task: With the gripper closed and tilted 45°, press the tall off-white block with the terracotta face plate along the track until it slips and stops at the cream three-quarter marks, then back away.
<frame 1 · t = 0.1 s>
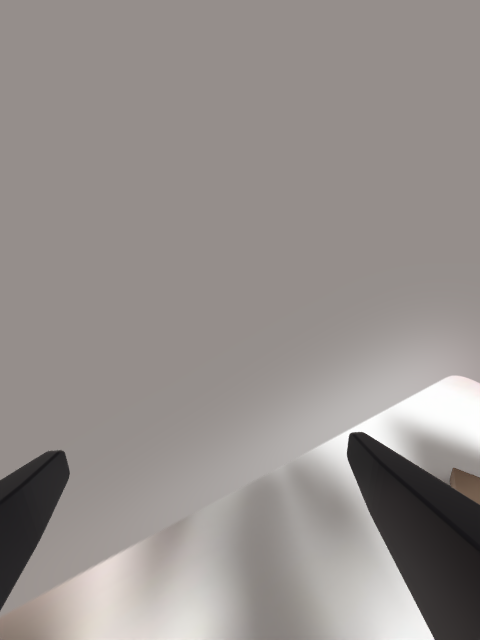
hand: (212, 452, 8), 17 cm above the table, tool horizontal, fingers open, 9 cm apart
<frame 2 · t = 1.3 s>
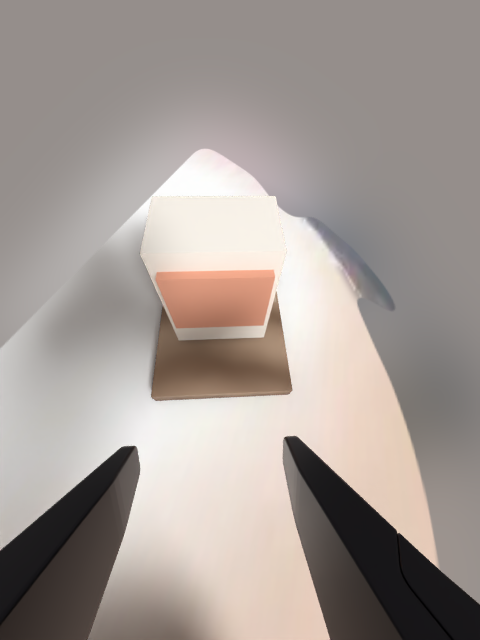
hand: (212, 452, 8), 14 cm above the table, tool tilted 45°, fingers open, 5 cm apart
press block: (218, 283, 19), point 7 cm above the table, slide at 0.0 cm
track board: (221, 320, 26), on the table
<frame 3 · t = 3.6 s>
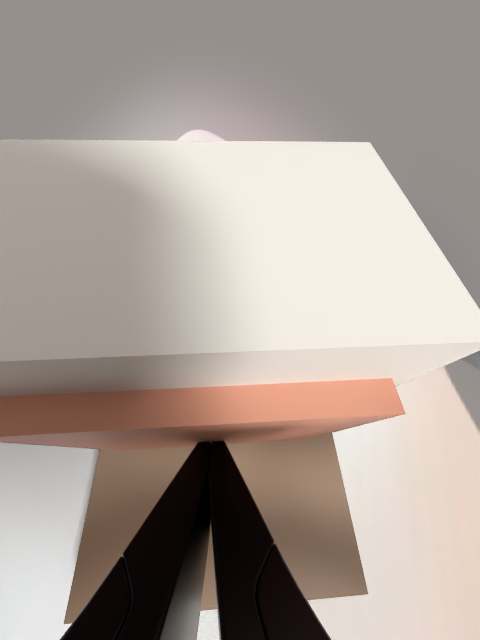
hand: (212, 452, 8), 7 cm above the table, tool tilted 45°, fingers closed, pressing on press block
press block: (211, 354, 9), point 7 cm above the table, slide at 1.2 cm, touching gripper
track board: (219, 404, 15), on the table
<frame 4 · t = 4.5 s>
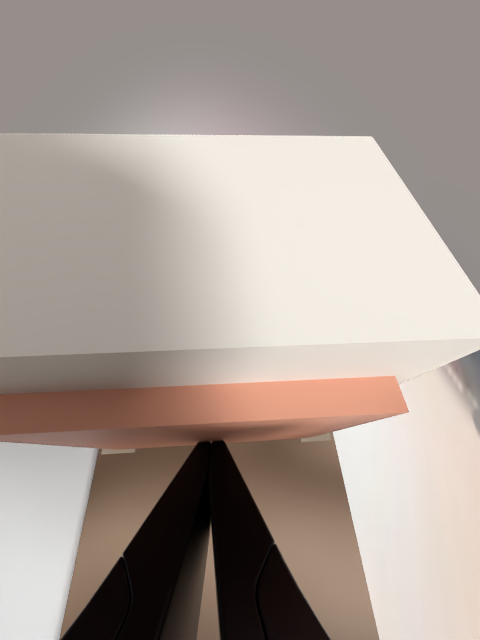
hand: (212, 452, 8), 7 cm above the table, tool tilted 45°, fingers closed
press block: (211, 352, 9), point 7 cm above the table, slide at 4.8 cm
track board: (220, 473, 13), on the table
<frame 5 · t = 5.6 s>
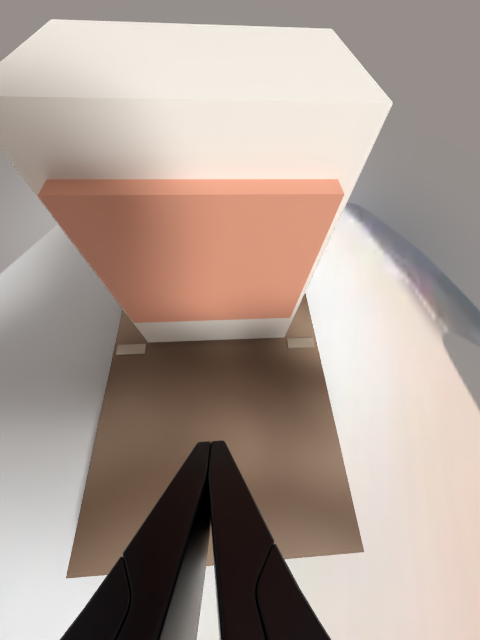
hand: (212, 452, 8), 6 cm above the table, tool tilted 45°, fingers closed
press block: (210, 241, 10), point 7 cm above the table, slide at 4.8 cm
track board: (219, 378, 15), on the table
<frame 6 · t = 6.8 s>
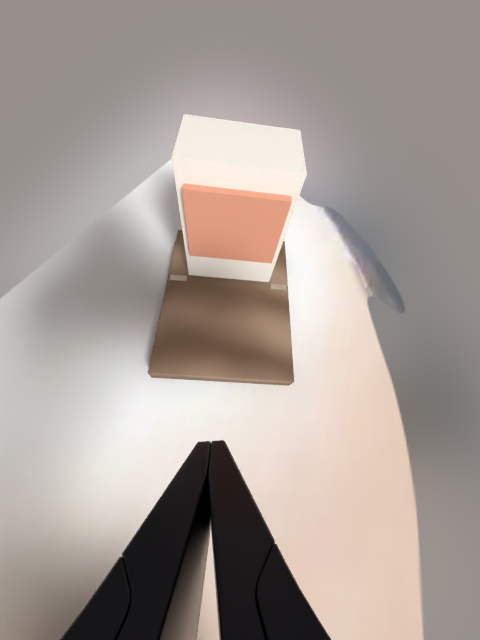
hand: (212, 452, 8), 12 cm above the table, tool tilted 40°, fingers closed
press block: (234, 217, 20), point 7 cm above the table, slide at 4.8 cm
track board: (227, 303, 25), on the table
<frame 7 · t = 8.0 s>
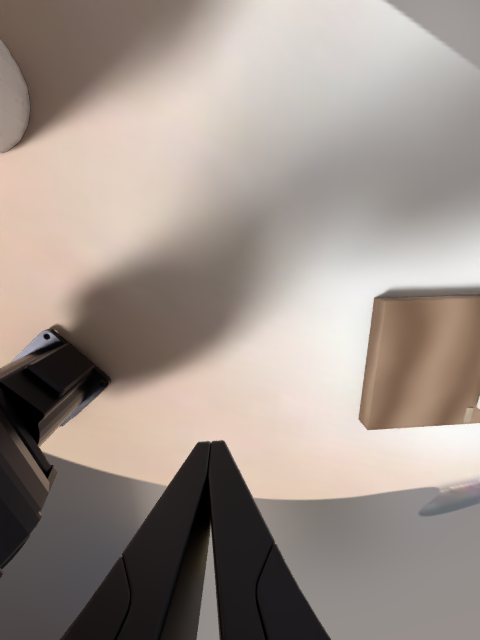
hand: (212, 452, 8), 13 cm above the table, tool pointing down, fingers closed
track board: (449, 359, 22), on the table
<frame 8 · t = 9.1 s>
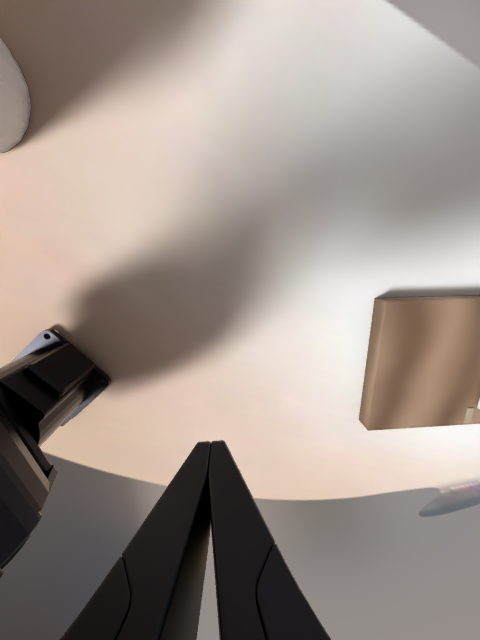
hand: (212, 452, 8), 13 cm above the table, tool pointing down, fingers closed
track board: (449, 359, 22), on the table
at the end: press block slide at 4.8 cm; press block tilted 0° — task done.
